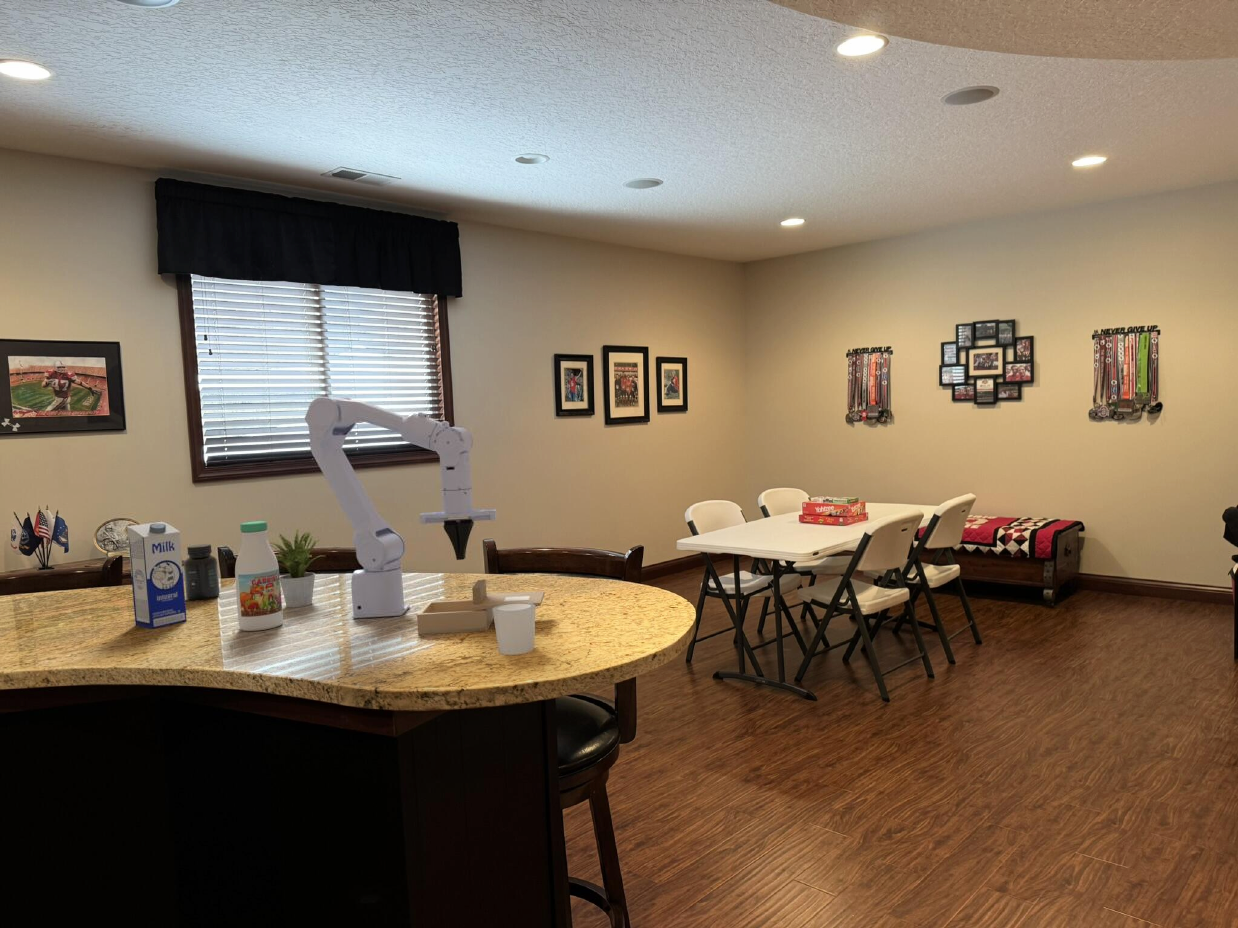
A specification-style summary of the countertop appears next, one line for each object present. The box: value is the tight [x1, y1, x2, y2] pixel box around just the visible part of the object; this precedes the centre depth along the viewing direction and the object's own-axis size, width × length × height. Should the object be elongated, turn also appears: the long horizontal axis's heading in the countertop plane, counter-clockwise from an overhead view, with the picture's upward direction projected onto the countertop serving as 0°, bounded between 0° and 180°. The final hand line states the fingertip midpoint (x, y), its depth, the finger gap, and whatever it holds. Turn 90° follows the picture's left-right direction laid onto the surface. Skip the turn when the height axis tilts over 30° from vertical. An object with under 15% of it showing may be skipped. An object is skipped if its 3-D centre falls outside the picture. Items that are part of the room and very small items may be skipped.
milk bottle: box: [234, 520, 284, 632], centre depth 158 cm, size 8×8×20 cm
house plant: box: [268, 529, 328, 608], centre depth 178 cm, size 14×14×16 cm
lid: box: [471, 579, 545, 610], centre depth 151 cm, size 12×10×4 cm
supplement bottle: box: [183, 543, 220, 602], centre depth 189 cm, size 7×7×12 cm
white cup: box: [493, 603, 536, 656], centre depth 133 cm, size 7×7×7 cm
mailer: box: [416, 599, 494, 636], centre depth 151 cm, size 12×10×4 cm
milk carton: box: [126, 521, 188, 630], centre depth 165 cm, size 7×7×20 cm
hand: (461, 558), depth 161 cm, fingers closed
